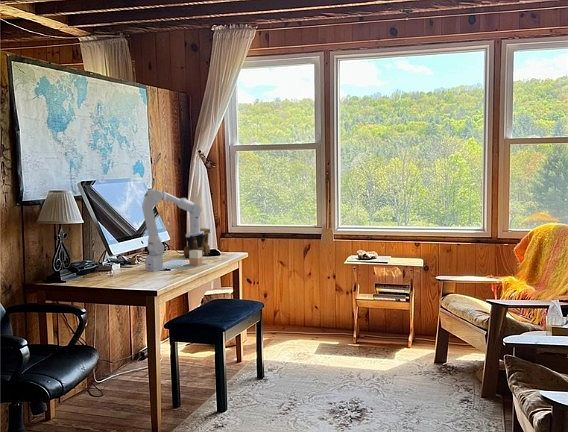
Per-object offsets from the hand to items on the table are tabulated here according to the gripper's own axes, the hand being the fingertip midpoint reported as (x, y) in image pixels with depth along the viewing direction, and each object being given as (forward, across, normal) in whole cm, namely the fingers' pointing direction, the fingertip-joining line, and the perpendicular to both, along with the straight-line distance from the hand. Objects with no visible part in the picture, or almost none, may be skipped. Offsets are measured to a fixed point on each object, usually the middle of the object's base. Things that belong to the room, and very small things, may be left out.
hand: (195, 248), depth 329 cm
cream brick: (+5, 0, 0) cm, 5 cm away
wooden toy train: (+10, +27, +19) cm, 35 cm away
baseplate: (+10, -6, 0) cm, 11 cm away
